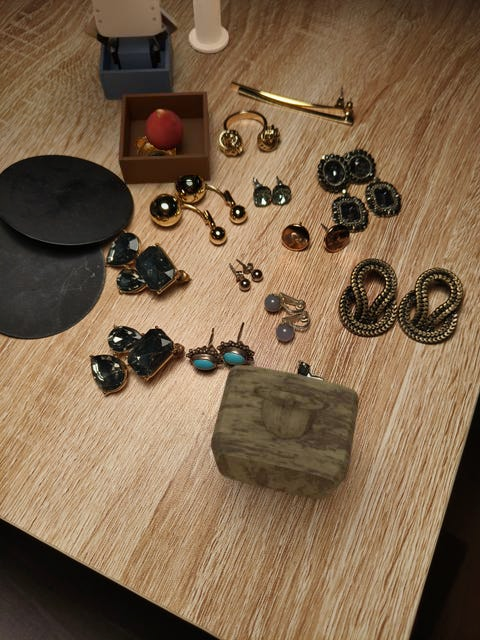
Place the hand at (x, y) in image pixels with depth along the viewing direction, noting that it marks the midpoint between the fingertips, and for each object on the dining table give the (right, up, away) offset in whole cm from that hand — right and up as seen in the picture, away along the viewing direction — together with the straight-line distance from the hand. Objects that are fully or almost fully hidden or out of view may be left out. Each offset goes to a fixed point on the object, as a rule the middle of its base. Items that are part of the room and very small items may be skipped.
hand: (138, 64), depth 101 cm
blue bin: (0, -1, +2) cm, 2 cm away
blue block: (0, 0, 0) cm, 0 cm away
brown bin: (+6, -16, -6) cm, 18 cm away
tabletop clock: (+22, -60, -27) cm, 70 cm away
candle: (+12, +7, +6) cm, 15 cm away
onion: (+6, -16, -6) cm, 18 cm away
